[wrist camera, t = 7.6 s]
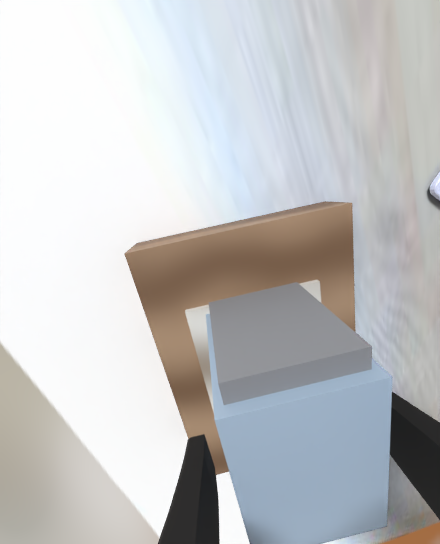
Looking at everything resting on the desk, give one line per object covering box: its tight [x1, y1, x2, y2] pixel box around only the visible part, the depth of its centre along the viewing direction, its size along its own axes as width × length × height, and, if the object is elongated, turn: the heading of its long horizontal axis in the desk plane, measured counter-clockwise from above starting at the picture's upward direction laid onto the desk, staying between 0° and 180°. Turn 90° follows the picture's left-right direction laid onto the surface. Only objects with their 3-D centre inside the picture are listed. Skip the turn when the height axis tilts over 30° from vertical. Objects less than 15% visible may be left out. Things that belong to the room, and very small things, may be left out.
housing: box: [206, 282, 392, 544], centre depth 10 cm, size 8×5×6 cm, turn 12°
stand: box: [125, 202, 355, 475], centre depth 15 cm, size 16×11×3 cm
